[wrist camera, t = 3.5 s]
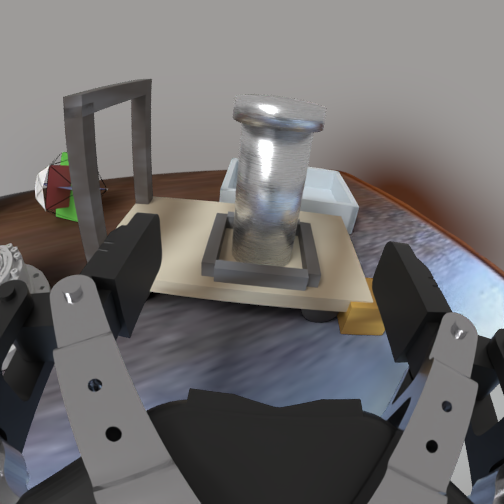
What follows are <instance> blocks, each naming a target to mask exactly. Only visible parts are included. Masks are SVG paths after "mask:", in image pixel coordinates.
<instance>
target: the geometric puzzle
mask: <svg viewBox="0 0 504 504" xmlns="http://www.w3.org/2000/svg"><path fill="white" fill-rule="evenodd" d="M59 163H60V162H59ZM56 164H57V163H56ZM48 168H49V172H48V181H47V183H44V181H45V178H46V175H47V171H48ZM98 173H99V172H98ZM98 175H99V174H98ZM101 180H102V179H101ZM102 182H103V180H102ZM103 183H104V182H103ZM43 185H46V186H47V192H46V207H45V203H44V198H45V197H44V195H43ZM104 185H105V184H104ZM105 187H106V186H105ZM100 190H108V189H107V188H106V189H102V188H100ZM104 192H106V191H104ZM104 192H103V193H104ZM103 193H102V194H103ZM102 194H101V195H102ZM102 196H103V195H102ZM102 196H101V197H102ZM35 197H36V200H37V201H38V202H39V203H40V204H41V206H42V207H43V208H44V209H45V211H47V210H51V209H56V213H54V212H52V213H54V214H56V215H54V216H55V217H60V218H64V219H68V220H72V221H76V222H78V219H77V214H76V209H75V203H74V197H73V191H72V185H71V178H70V171H69V163H68V155H67V152H62V156H61V164H60V165H53V164H51V165H49V166H48V167H46V168H45V169H43V170H42V171H40V172H39V173H38V175H37V179H36V183H35ZM52 211H53V210H52ZM49 213H50V211H49Z"/></svg>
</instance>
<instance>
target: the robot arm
mask: <svg viewBox="0 0 504 504" xmlns="http://www.w3.org/2000/svg"><path fill="white" fill-rule="evenodd" d="M161 262H162V243H161V230H160V218H159V215H158V214H152V213H140V212H137V213H136V214H135V215H134V216H133V218H132V219H131V220H130V222H129V223H128V224H127V225H121V226H119V227H118V228H116V229H115V230H113V231H112V232H110V234H109V235H108V236H107V238H106V239H105V240H104V243H102V244H101V245H100V247H99V248H98V250H97V251H96V252H95V253H94V255H93V256H92V258H91V259H90V260H89V262H88V263H87V264H86V266H85V267H84V269H83V270H82V271H81V273H80V274H79V275H72V276H68V277H66V278H64V279H62V280H60V281H59V282H57V283H56V284H55V285H54V287H53V288H52V290H51V292H46V293H33V294H30V291H29V289H28V287H27V285H26V283H25V282H24V281H22V280H10V281H7V282H5V283H3V284H1V285H0V504H504V417H503V418H502V419H501V420H500V421H499V422H498V420H497V416H496V413H495V409H494V406H493V403H492V400H491V397H490V392H491V391H492V390H493V389H494V388H495V387H496V386H497V385H498V384H499V383H500V386H501V388H502V391H503V394H504V329H499V330H498V331H497V332H496V333H495V335H494V336H493V337H492V339H489V338H486V337H483V336H479V335H478V334H477V330H476V328H475V326H474V325H473V324H472V322H471V321H470V320H469V319H467V318H466V317H464V316H463V315H461V314H458V313H454V312H452V310H451V309H450V307H449V305H448V303H447V301H446V299H445V297H444V295H443V294H442V292H441V290H440V288H438V285H437V283H436V281H435V280H434V279H433V276H432V274H431V272H430V271H429V269H428V268H427V267H426V266H425V265H424V264H423V263H422V262H421V261H420V260H419V259H417V257H416V256H415V254H414V252H413V251H412V249H411V247H410V246H409V245H408V244H405V243H398V242H391V241H389V242H388V243H387V244H386V245H385V247H384V250H383V253H382V255H381V258H380V261H379V263H378V266H377V268H376V271H375V273H374V276H373V280H372V291H373V294H374V297H375V300H376V303H377V306H378V309H379V312H380V315H381V318H382V321H383V324H384V328H385V331H386V334H387V337H388V340H389V344H390V347H391V351H392V354H393V357H394V361H395V363H400V362H408V364H409V367H408V368H407V370H406V371H405V373H404V375H403V377H402V379H401V381H400V383H399V385H398V387H397V389H396V391H395V393H394V395H393V397H392V398H391V400H390V402H389V404H388V406H387V408H386V410H385V411H384V413H383V414H382V416H381V417H379V416H377V415H374V414H372V413H369V412H365V411H362V406H361V399H321V400H316V401H312V402H307V403H302V404H297V405H292V406H287V407H273V406H270V405H266V404H263V403H260V402H256V401H253V400H250V399H247V398H244V397H241V396H238V395H235V394H229V393H221V392H213V391H206V390H199V389H192V388H190V389H189V394H188V399H187V400H178V401H172V402H168V403H164V404H161V405H158V406H156V407H153V408H151V409H149V410H147V411H146V410H145V408H144V406H143V404H142V402H141V400H140V397H139V395H138V393H137V391H136V389H135V387H134V384H133V382H132V380H131V378H130V375H129V373H128V371H127V369H126V366H125V364H124V361H123V359H122V357H121V354H120V352H119V349H118V347H117V344H116V339H117V337H118V336H123V337H128V338H130V336H131V334H132V331H133V329H134V327H135V324H136V322H137V319H138V317H139V315H140V312H141V310H142V308H143V305H144V303H145V301H146V298H147V296H148V294H149V292H150V289H151V287H152V285H153V283H154V280H155V278H156V276H157V274H158V272H159V269H160V267H161ZM12 344H14V346H15V348H16V351H15V353H14V355H13V357H12V359H11V361H10V363H9V365H8V367H7V369H6V371H5V373H4V376H3V375H2V365H3V362H4V360H5V358H6V356H7V354H8V352H9V350H10V348H11V346H12ZM54 363H55V367H56V372H57V376H58V381H59V385H60V389H61V393H62V397H63V401H64V404H65V408H66V411H67V415H68V418H69V422H70V425H71V428H72V431H73V434H74V437H75V440H76V443H77V446H78V449H79V451H80V454H81V457H80V458H78V459H77V460H75V461H74V462H72V463H71V464H69V465H68V466H66V467H65V468H63V469H62V470H60V471H58V472H57V473H55V474H54V475H52V476H51V477H49V478H47V479H46V480H44V481H43V482H41V483H39V484H38V485H36V486H35V487H33V488H31V489H30V490H28V489H27V485H26V484H27V483H28V482H29V473H28V471H27V467H26V463H25V460H24V458H23V456H22V451H23V448H24V445H25V441H26V438H27V435H28V432H29V429H30V426H31V423H32V420H33V417H34V414H35V411H36V409H37V406H38V403H39V401H40V398H41V395H42V393H43V390H44V388H45V385H46V383H47V380H48V378H49V375H50V373H51V370H52V368H53V366H54ZM464 440H465V445H466V450H467V455H468V462H469V467H470V474H471V481H472V492H471V494H470V495H468V496H466V495H464V493H462V491H460V490H459V488H457V487H456V486H455V485H454V484H453V483H452V482H451V481H450V479H451V476H452V474H453V471H454V468H455V466H456V463H457V460H458V458H459V455H460V452H461V449H462V446H463V443H464Z"/></svg>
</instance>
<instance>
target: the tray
mask: <svg viewBox="0 0 504 504" xmlns="http://www.w3.org/2000/svg"><path fill="white" fill-rule="evenodd" d="M238 160H239V158H232V160H231V163H230V165H229V168H228V171H227V173H226V176H225V179H224V181H223V184H222V187H221V189H220V202H223V203H233V204H235V198H236V185H237V172H238ZM358 209H359V206H358V204H357V203H356V201H355V199H354V197H353V195H352V194H351V192H350V190H349V188H348V187H347V185H346V183H345V182H344V180H343V178H342V176H341V175H340V173H339V171H333V170H327V169H320V168H313V167H308V169H307V175H306V180H305V186H304V191H303V197H302V202H301V208H300V211H304V212H312V213H320V214H327V215H335V216H341V217H342V219H343V222H344V224H345V227H346V229H347V232H348V234H352V231H353V227H354V224H355V220H356V217H357V213H358Z"/></svg>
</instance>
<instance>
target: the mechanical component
mask: <svg viewBox="0 0 504 504" xmlns="http://www.w3.org/2000/svg"><path fill="white" fill-rule="evenodd" d="M10 280H22V281H24V282H25V283H26V285H27V287H28V289H29V291H30V294H33V293H46V292H51V289H50V286H49V282H48V281H47V279H46V277H45V276H44V274H43V272H41V271H40V270H38V269H37V268H35V267H34V266H32V265H28V264H25V263H24V261H23V258H22V255H21V253H20V252H19V250H18V248H17V247H13V245H12V244H11V243H9V244H7V245H1V246H0V285H1V284H3V283H5V282H7V281H10ZM15 351H16V348H15V346H14V344H12V346H11V348H10V350H9V352H8V354H7V356H6V358H5V360H4V362H3V365H2V370H4V369H7V367H8V365H9V363H10V361H11V359H12V357H13V355H14V353H15Z"/></svg>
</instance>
